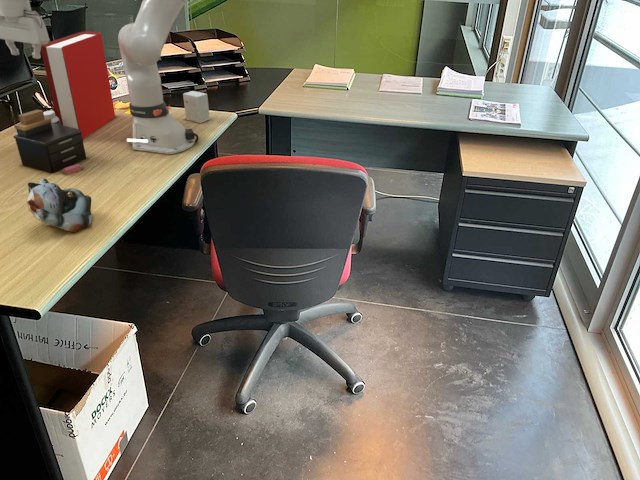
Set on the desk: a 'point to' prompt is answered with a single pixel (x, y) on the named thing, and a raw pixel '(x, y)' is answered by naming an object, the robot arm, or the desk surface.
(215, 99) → the desk surface
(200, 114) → the small box
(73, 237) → the desk surface
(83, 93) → the book
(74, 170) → the eraser
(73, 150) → the cabinet
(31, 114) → the brush
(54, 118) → the pill bottle
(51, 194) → the lucky cat figurine
